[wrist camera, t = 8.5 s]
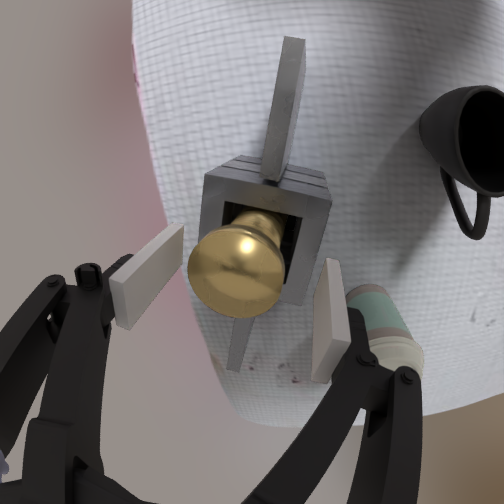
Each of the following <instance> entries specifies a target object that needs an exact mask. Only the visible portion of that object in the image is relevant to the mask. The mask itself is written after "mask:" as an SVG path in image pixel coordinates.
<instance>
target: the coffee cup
mask: <svg viewBox="0 0 504 504" xmlns="http://www.w3.org/2000/svg"><path fill="white" fill-rule="evenodd" d="M345 300H346V306H347V307H351V308H356V309H359V310H360V312H361V313H362V315H363V316H364V320H365V325H366V331H367V336H368V341H369V347H370V351H371V352H372V353H374V354H375V355H376V357H377V358H378V361H379V364H380V365H381V366H383V367H385V368H388V369H390V370H393V371H395V370H396V369H397V368H398V367H400V366H409V367H411V368H413V369H414V370H415V371H416V372H417V373H418V374H419V376H420V379H422V375H423V367H424V355H423V350H422V348H421V347H420V345H419V344H418V343H416V342H415V341H414V339H413V337H412V335H411V334H410V332H409V330H408V328H407V326H406V324H405V322H404V321H403V319H402V317H401V315H400V313H399V312H398V310H397V308H396V306H395V305H394V303H393V301H392V300H391V298H390V296H389V295H388V293H387V291H386V290H385V289H383V288H382V287H380V286H378V285H373V284H367V285H362V286H359V287H357V288H355V289H353V290H352V291H351V292H350V293H349V294H348V295H347V296H346V298H345Z"/></svg>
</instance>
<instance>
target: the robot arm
mask: <svg viewBox="0 0 504 504" xmlns="http://www.w3.org/2000/svg"><path fill="white" fill-rule="evenodd" d="M183 234H184V225H183V224H178V223H174V222H172V223H171V224H170V225H169V226H168V227H166V228H165V229H164V230H163V231H162V232H160V233H159V234H158V235H157V236H156V237H155V238H153V239H152V240H151V241H150V242H149V243H148V244H146V245H145V246H144V247H143V248H142V249H141V250H140V251H138V252H137V253H136V254H135V255H132V254H127V255H125V256H123V257H121V258H120V259H118V260H117V261H116V263H114V264H113V265H111V267H109V268H108V269H107V270H106V271H105V272H104V273H102V272H101V268H100V266H99V265H97V264H95V263H85V264H82V265H80V266H78V267H77V268H76V269H75V271H74V272H75V277H76V282H77V286H75V285H67V284H66V282H65V278H64V277H63V276H61V275H51V276H48V277H46V278H45V279H44V280H43V281H42V282H41V283H40V284H39V285H38V286H37V287H36V289H35V290H34V291H33V292H32V293H31V294H30V295H29V297H28V298H27V299H26V300H25V301H24V303H23V304H22V305H21V306H20V307H19V309H18V310H17V311H16V312H15V313H14V315H13V316H12V317H11V319H10V320H9V321H8V322H7V324H6V325H5V326H4V328H3V329H2V330H1V332H0V504H156V503H151V502H145V501H142V500H140V499H138V498H137V497H135V496H134V495H132V494H131V493H130V492H129V491H127V490H126V489H125V488H123V487H122V486H121V485H119V484H118V483H117V482H116V481H114V480H113V479H110V478H109V477H107V476H105V475H104V467H103V462H102V459H101V456H100V424H101V409H102V396H103V386H104V376H105V368H106V360H107V354H108V347H109V341H110V335H111V329H112V328H111V320H112V319H113V318H114V317H115V319H116V324H117V326H120V327H122V328H125V329H127V330H131V328H132V327H133V325H134V324H135V323H136V322H137V320H138V319H139V318H140V316H141V315H142V314H143V313H144V311H145V310H146V309H147V307H148V306H149V305H150V304H151V302H152V301H153V300H154V298H155V297H156V296H157V295H158V293H159V292H160V291H161V290H162V288H163V287H164V286H165V285H166V283H167V282H168V281H169V280H170V278H171V277H172V276H173V274H174V273H175V272H176V271H177V270H178V268H179V267H180V266H181V265H182V255H183ZM49 314H50V315H51V318H50V319H49V320H48V319H47V317H48V316H49ZM47 374H48V375H47ZM46 375H47V379H46V384H45V388H44V392H43V397H42V402H41V407H40V412H39V415H38V417H37V418H32V419H31V420H30V421H29V424H28V428H27V434H26V442H25V449H24V458H23V470H22V479H20V480H15V481H10V482H5V483H2V481H1V478H2V474H7V473H8V472H9V465H8V464H7V463H6V461H5V458H6V457H7V455H8V454H9V453H10V451H11V449H12V448H13V446H14V444H15V442H16V440H17V437H18V435H19V433H20V430H21V428H22V425H23V423H24V421H25V419H26V416H27V414H28V412H29V410H30V407H31V406H32V403H33V401H34V399H35V397H36V395H37V393H38V391H39V389H40V387H41V385H42V383H43V381H44V379H45V377H46ZM331 377H332V385H331V386H330V388H329V390H328V391H327V393H326V394H325V396H324V397H323V399H322V401H321V402H320V404H319V405H318V407H317V408H316V410H315V411H314V413H313V414H312V416H311V417H310V419H309V420H308V422H307V423H306V424H305V426H304V427H303V429H302V430H301V431H300V433H299V434H298V436H297V437H296V439H295V440H294V441H293V442H292V444H291V445H290V447H289V448H288V449H287V450H286V452H285V453H284V454H283V455H282V457H281V458H280V459H279V460H278V462H277V463H276V464H275V465H274V467H273V468H272V469H271V470H270V472H269V473H268V474H267V475H266V476H265V477H264V479H263V480H262V481H261V482H260V483H259V484H258V485H257V487H256V488H255V489H254V490H253V491H252V492H251V493H250V495H248V496H247V498H246V499H245V500H244V501H243V502H242V503H241V504H304V503H305V502H306V500H307V499H308V497H309V496H310V495H311V493H312V492H313V490H314V489H315V487H316V486H317V485H318V483H319V482H320V480H321V478H322V477H323V475H324V474H325V472H326V471H327V469H328V467H329V466H330V464H331V462H332V461H333V459H334V457H335V455H336V454H337V452H338V450H339V449H340V447H341V445H342V443H343V441H344V440H345V438H346V436H347V434H348V432H349V430H350V428H351V426H352V424H353V423H354V421H355V419H356V416H357V414H358V412H359V410H360V408H363V409H365V410H366V417H365V423H364V430H363V435H362V441H361V447H360V452H359V457H358V461H357V465H356V470H355V474H354V478H353V482H352V486H351V490H350V493H349V497H348V501H347V504H417V497H418V490H419V480H420V471H421V457H422V390H421V379H420V376H419V374H418V373H417V372H416V371H415V370H414V369H413V368H411V367H409V366H400V367H398V368H397V369H396V370H395V371H393V370H390V369H388V368H385V367H383V366H381V365H380V364H379V361H378V358H377V357H376V355H375V354H374V353H372V352H371V351H370V347H369V341H368V336H367V331H366V325H365V320H364V316H363V315H362V313H361V312H360V310H359V309H356V308H351V307H347V306H346V300H345V293H344V287H343V281H342V275H341V269H340V264H339V260H335V259H331V258H327V257H326V260H325V263H324V266H323V269H322V272H321V275H320V278H319V281H318V284H317V287H316V290H315V293H314V301H313V346H312V369H311V381H313V382H319V383H325V384H327V383H328V382H329V380H330V378H331Z"/></svg>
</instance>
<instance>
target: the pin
mask: <svg viewBox="0 0 504 504" xmlns="http://www.w3.org/2000/svg"><path fill="white" fill-rule="evenodd" d="M288 215H289V214H284V213H280V212H276V211H271V210H267V209H262V208H257V207H253V206H248V205H246V206H245V207H244V208H243V210H242V211H241V212H240V213H239V215H238V216H237V217H236V218H235V219H234V221H233V222H232V223H231V224H229V225H224V226H220V227H218V228H216V229H214V230H212V231H211V232H209V233H208V234H207V235H206V236H205V237H204V238H203V239H202V240H201V241H200V242H199V243H198V245H197V246H196V247H195V248H194V249H193V251H192V253H191V255H190V257H189V261H188V267H187V268H188V278H189V281H190V284H191V286H192V289H193V290H194V292H195V294H196V295H197V296H198V298H199V299H200V300H201V301H202V302H203V303H204V304H205V305H207V306H208V307H209V308H211V309H212V310H214V311H216V312H218V313H220V314H222V315H225V316H229V317H234V318H250V317H255V316H258V315H261V314H263V313H264V312H266V311H268V310H269V309H270V308H271V307H272V306H273V305H274V304H275V303H276V302H277V300H278V298H279V296H280V293H281V290H282V285H283V280H284V275H285V264H284V260H283V256H282V254H281V252H280V250H279V248H280V244H281V241H282V237H283V234H284V230H285V226H286V223H287V219H288Z"/></svg>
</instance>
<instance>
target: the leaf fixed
mask: <svg viewBox="0 0 504 504" xmlns="http://www.w3.org/2000/svg"><path fill="white" fill-rule="evenodd" d="M233 160H236V161H241V162H247V163H252V164H257V165H261V163H262V159H260V158H255V157H249V156H243V155H240V156H238V157H236V158H234V159H233ZM284 170H287V171H291V172H296V173H300V174H305V175H309V176H313V177H317V178H321V179H325V176H324V173H323V172H320V171H315V170H311V169H307V168H303V167H298V166H294V165H289V164H287V165H286V167H285V169H284ZM259 175H260V174H259V173H254V172H248V171H243V170H238V169H232V168H226V167H221V166H218V167H217V168H215V169H213V170H211V171H209V172H207V173H205V176H204V185H203V195H202V204H201V215H200V226H199V238H198V243H199V242H200V241H201V240H202V239H203V238H204V237H205V236H206V235H207V234H208V233H209V232H211V231H212V230H214V229H216V228H218V227H220V226H224V225H229V224H231V220H232V213H233V206H234V203H239V204H242V208H241V211H242V210H243V208H244V207H245V206H246V205H248V206H253V207H257V208H262V209H267V210H271V211H276V212H280V213H284V214H289V215H293V216H297V219H296V223H295V227H294V231H292V230H288V229H285V230H284V234H283V237H282V241H281V243H284V244H288V245H292V242H293V238H294V233H295V229H296V225H297V221H298V217H300V222H299V226H298V230H297V234H296V238H295V242H294V246H293V250H292V254H291V258H290V261H289V264H287V263H284V264H285V275H284V280H283V285H282V290H281V293H280V296H279V298H278V300H277V301H282V302H286V303H290V304H295V305H299V306H301V305H302V302H303V299H304V296H305V292H306V289H307V286H308V283H309V280H310V277H311V274H312V270H313V267H314V264H315V261H316V257H317V254H318V251H319V247H320V244H321V241H322V237H323V234H324V230H325V227H326V223H327V219H328V216H329V212H330V208H331V205H332V198H331V194H330V191H329V189H326V188H322V187H317V186H313V185H309V184H305V183H301V182H296V181H292V180H287V179H283V178H280V180H279V181H274V180H269V179H265V178H260V177H259ZM254 319H255V317H250V318H235V321H234V327H233V333H232V339H231V345H230V351H229V357H228V363H227V369H228V370H232V371H235V372H239V370H240V367H241V363H242V360H243V357H244V353H245V350H246V346H247V343H248V340H249V336H250V333H251V329H252V326H253V322H254Z"/></svg>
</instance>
